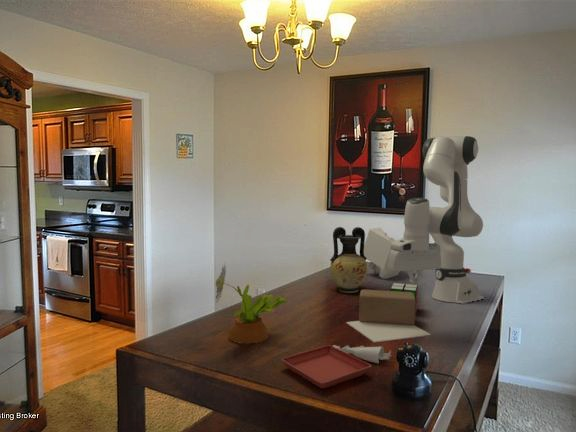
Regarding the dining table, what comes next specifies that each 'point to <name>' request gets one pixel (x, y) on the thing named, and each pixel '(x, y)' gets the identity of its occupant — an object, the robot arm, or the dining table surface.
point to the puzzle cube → (406, 290)
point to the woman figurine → (366, 353)
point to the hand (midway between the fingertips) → (414, 282)
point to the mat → (387, 331)
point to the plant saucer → (326, 366)
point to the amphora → (348, 260)
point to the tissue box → (379, 252)
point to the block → (387, 307)
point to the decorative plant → (249, 314)
